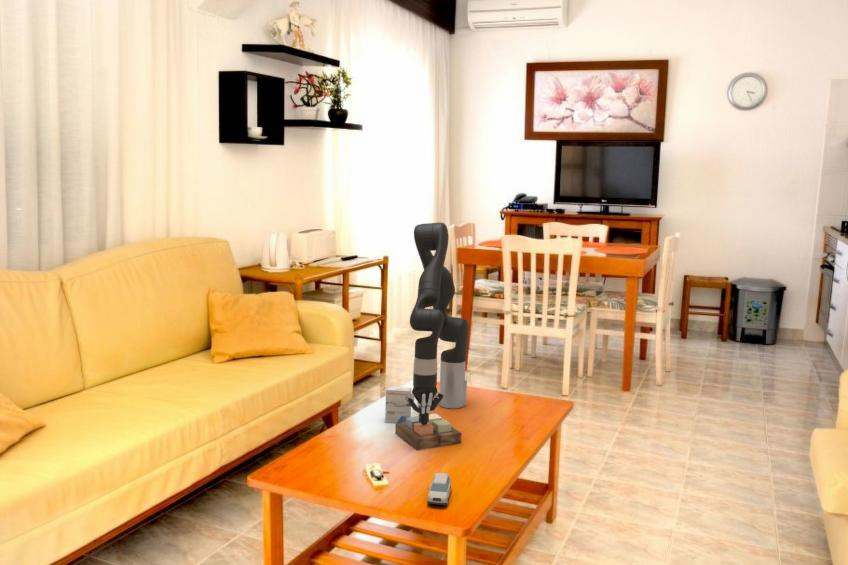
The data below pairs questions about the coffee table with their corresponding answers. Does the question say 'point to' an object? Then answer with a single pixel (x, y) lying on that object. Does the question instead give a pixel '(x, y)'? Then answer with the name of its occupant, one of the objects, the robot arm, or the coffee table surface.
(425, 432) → the terracotta key
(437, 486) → the toy car
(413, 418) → the slate key
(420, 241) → the robot arm
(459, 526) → the coffee table surface
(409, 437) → the keypad housing
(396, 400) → the ink box
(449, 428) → the sage key
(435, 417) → the cream key
